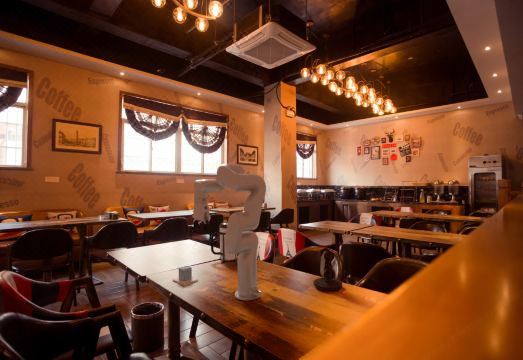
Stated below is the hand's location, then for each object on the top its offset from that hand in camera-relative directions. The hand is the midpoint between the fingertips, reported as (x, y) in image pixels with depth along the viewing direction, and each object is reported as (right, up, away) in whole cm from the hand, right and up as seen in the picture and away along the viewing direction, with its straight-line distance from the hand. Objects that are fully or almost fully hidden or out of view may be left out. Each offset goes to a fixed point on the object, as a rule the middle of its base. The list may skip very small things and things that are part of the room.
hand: (201, 229), depth 167 cm
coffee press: (+11, -29, +35) cm, 46 cm away
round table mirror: (+71, -27, -19) cm, 78 cm away
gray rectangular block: (-8, -27, -6) cm, 29 cm away
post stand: (-8, -28, -6) cm, 30 cm away
